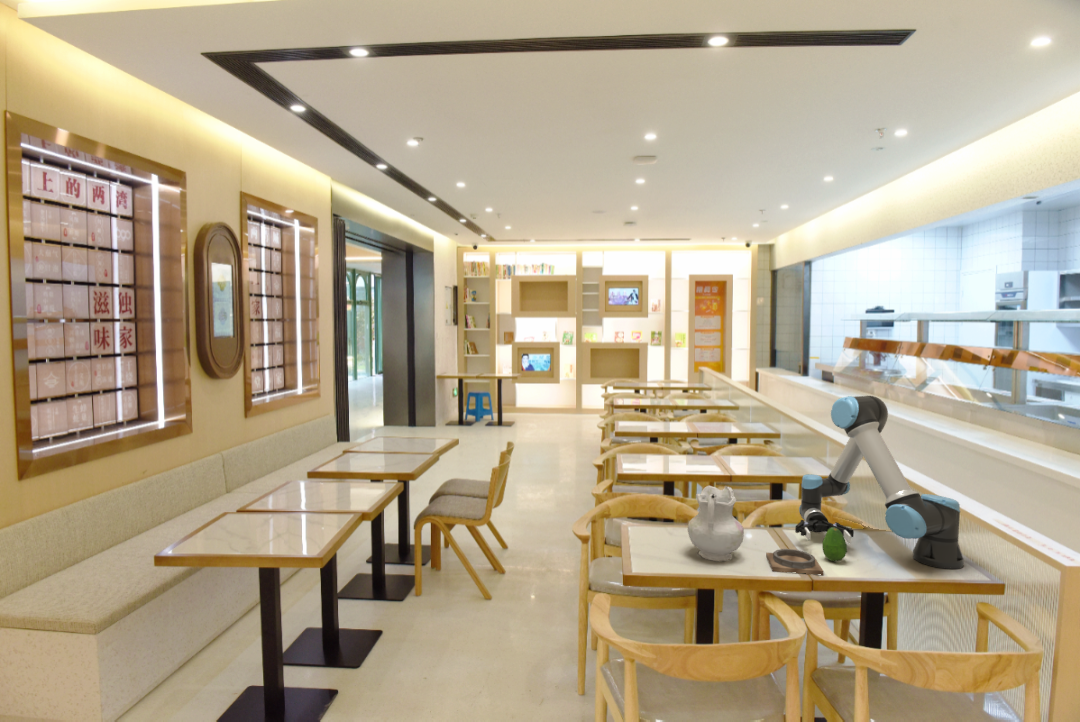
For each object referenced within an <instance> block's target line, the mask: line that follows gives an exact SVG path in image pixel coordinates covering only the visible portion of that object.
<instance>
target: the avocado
mask: <svg viewBox="0 0 1080 722" xmlns="http://www.w3.org/2000/svg"><path fill="white" fill-rule="evenodd" d="M821 547H822V552H823V555H824V557H825V558H826V559H828V560H829V561H831V562H840V561H842V560H844V558H845V556H846V555H847V553H848V545H847V541H846V540H845V538H844V536H843V534H842V533H841V531H840V530H839V529H837V528H835V527H831V528H830V529H828V531H827V532H826V533H825V536H824V538H823V541H822V545H821Z"/></svg>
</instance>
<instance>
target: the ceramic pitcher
mask: <svg viewBox="0 0 1080 722" xmlns="http://www.w3.org/2000/svg"><path fill="white" fill-rule="evenodd" d="M695 498H696V500H697V503H698V506H699V507H698V508H699V511H698V513H697V515H695V516H693V517H692V518H691V519H690V520H689V521H688V524H687V533H688V538H689V540H690V542H691V543H692V545H693V546H694V547H695V548H697V549H698V550H699V552H698V553H697V555H699V556H701V557H702V558H703V559H705V560H706V561H713V562H725V561H731V559H733V555H732V553H734V552H735V551H737V550H738V549H739V548H740V546H741V545H742V543H743V541H744V537H745V535H744V534H745V531H744V527H743V525H742V523H741V522H740V521H739V520H737V518H735V517H734V516H733V510H734V506H735V504H736V502H737V498H736V497H735V493H734V489H733V488H732V487H731V486H727V485H725V486H724V488H723V489H719V488H718V487H716V486H712V485H706V486H705V487H704V488H703V489H702V490H701V491H700V493H696V495H695Z"/></svg>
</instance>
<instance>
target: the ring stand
mask: <svg viewBox="0 0 1080 722" xmlns="http://www.w3.org/2000/svg"><path fill="white" fill-rule="evenodd" d="M765 554H766V561H768V564H769V566H770V569H771V570H772V571H771V572H774V573H775V572H777V573H787V572H796V573H795V574H799V573H806V574H805V575H811V574H821V575H820V576H824V573H825V572H824V570H823V568H822V567H821V565H820V564H819V562H818V560H817V559H816V557H815V555H813V554H811V553H809V552H807V551H803V550H799V549H792V548H781V549H777V550H775V551H773V552H766V553H765Z"/></svg>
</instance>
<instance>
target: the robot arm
mask: <svg viewBox="0 0 1080 722" xmlns="http://www.w3.org/2000/svg"><path fill="white" fill-rule="evenodd" d="M830 417H831V421H832V423H833V425H834V426H836V427H837V428H839V429H843V430H844V432H845V433H846V436H847V437H849V438H848V441H847V442H846V444H845V446H844V447H843V450H842V451H841V453H840V455H839V456H838V459H837V460H836V462H835V463H834V466H833V468H832V469H831V470H830V471H831V472H830V473H829V474H828V476H827V477H826V478H822V476H820V475H817V474H803V476H802V478H801V484H800V485H801V503H800V505H799V508H798V511H799V515H800V517H801V518H802V519H800V522H798V523H797V524H796V525H795V530H794V531H795V533H796V534H798V533H800V536H801V537H802V536H803V537H804V536H805V538H806V540H807V541H811V534H812V533H818V534H820V533H823V532H826V533H827V531H828V529H830V528H831V527H835V528H837V529H839V530H840V531H841V533H842V534H843V536H844V539H845V541H846V543H848V544H851V543H852V538H854V532H855V530H854V529H852V528H850V527H847V526H845V525H843V524H841V523H839V522H835V523H832V522H830V521H829V520H828V518H827V517H826V516H825V514H824V513H823V512H822V498H828V497H829V498H830V497H836V496H837V497H838V496H840V497H841V496H843V495H846V494H848V493H849V491H850V490H851V483H850V480H851V478H852V477H853V476H854V474H855V471H856V470H857V468H858V466H859V465H860V464H861V461H862V460H863V458H864V460H865V461H866V463H867V465H868V468H869V469H870V471H871V473H872V475H873V476H874V478H875V479H876V481H877V484H878V485H879V488H880V489H881V490H882V493H883V495H884V496H885V498H886V501H885V503H884V506H885V509H886V511H885V517H884V518H885V519H884V520H885V523H886V525H887V527H888V529H889V530H890V531H891V532H892V533H893V534H894V535H896V536H898V537H900V538H903V539H909V540H911V539H914V540H915V539H917V540H916V543H915V545H914V548H913V550H912V558H913V559H914V560H915V561H917V562H918V563H921V564H924V565H927V566H930V567H934V568H940V569H945V570H946V569H947V570H948V569H949V570H956V569H957V570H958V569H961V568H963V567H964V561H965V560H964V557H963V553H962V550H961V547H960V543H959V538H960V537H959V533H960V531H959V530H960V515H961V514H960V513H961V509H960V508H961V507H960V505H961V504H960V502H959V501H957V500H956V499H953V498H951V497H946V496H942V495H936V494H931V493H930V494H929V493H927V494H926V493H922V494H920V493H919V492H918V491H915V490H913V489H912V488H911V487H910V484H909V482H908V480H907V479H906V478H905V476H904V474H903V472H902V471H901V470H902V469H900V467H899V465H898V464H897V461H896V460H895V458H894V456H893V455H892V453H891V451H890V449H889V447H888V445H887V444H886V442H885V440H884V438H883V437H882V435H881V433H882V431H883V430H884V428H885V426H886V424H887V421H888V417H889V412H888V408H887V405H886V404H885V403H884V401H883V400H882V399H880V398H878V397H877V396H875V395H860V396H859V395H857V396H856V395H855V396H852V395H851V396H849V395H848V396H843V397H841V398H838V399H836V400H835V401H834V403H833V404H832V405H831V410H830ZM811 532H812V533H811Z"/></svg>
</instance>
